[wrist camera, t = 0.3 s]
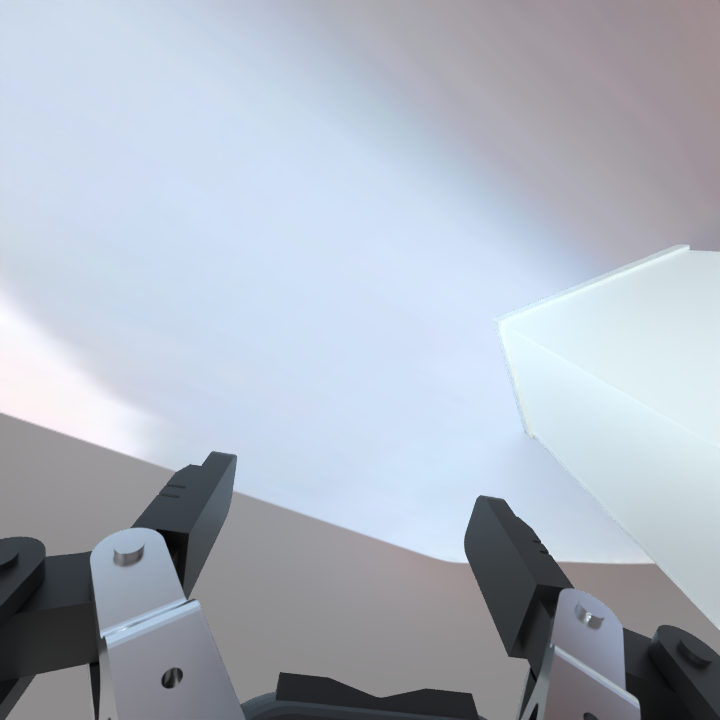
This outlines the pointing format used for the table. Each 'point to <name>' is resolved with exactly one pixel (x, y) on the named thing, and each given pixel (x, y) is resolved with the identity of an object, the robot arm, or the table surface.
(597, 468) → the storage box
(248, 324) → the table surface
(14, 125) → the table surface
